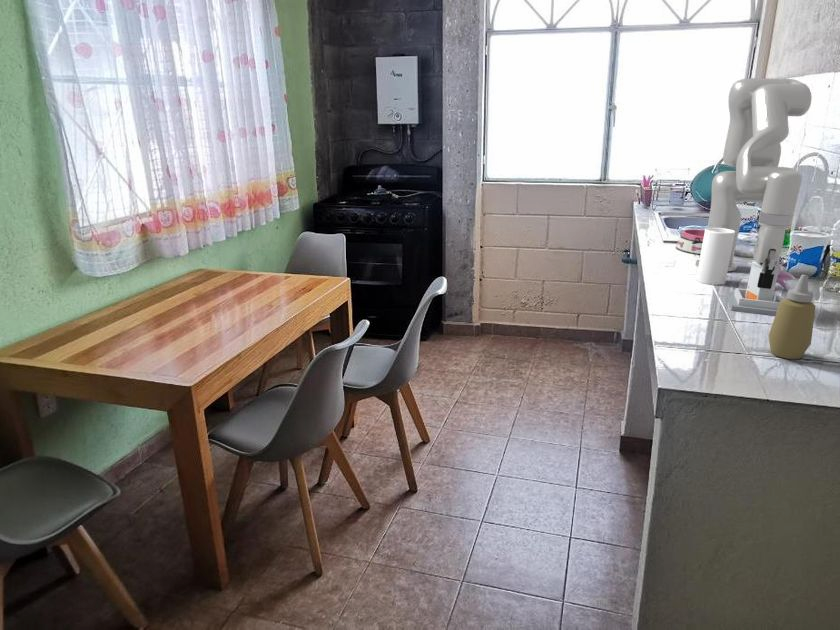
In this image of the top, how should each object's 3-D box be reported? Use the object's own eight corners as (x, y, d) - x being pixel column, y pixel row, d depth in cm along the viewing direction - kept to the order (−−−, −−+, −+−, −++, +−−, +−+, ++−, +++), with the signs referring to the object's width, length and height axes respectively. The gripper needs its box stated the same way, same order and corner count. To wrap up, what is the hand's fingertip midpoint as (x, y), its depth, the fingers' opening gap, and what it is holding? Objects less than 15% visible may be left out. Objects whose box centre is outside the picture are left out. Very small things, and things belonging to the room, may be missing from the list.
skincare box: (742, 302, 167) (751, 260, 163) (757, 302, 168) (767, 260, 164) (755, 309, 162) (764, 266, 158) (770, 310, 162) (780, 266, 158)
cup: (719, 278, 191) (729, 228, 186) (729, 285, 183) (739, 233, 178) (692, 277, 192) (701, 226, 186) (701, 284, 184) (710, 232, 179)
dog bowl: (731, 249, 231) (734, 232, 229) (726, 259, 216) (729, 240, 214) (680, 243, 240) (682, 226, 238) (671, 252, 225) (674, 233, 223)
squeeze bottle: (756, 347, 136) (774, 270, 130) (790, 347, 137) (809, 270, 131) (779, 362, 128) (799, 280, 122) (815, 362, 129) (837, 280, 123)
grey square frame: (725, 295, 173) (727, 285, 172) (781, 302, 169) (783, 291, 168) (731, 310, 161) (733, 299, 160) (790, 317, 156) (793, 306, 155)
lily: (792, 300, 174) (808, 270, 174) (754, 281, 175) (771, 252, 174) (771, 300, 186) (786, 272, 186) (736, 283, 187) (751, 255, 186)
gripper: (754, 212, 166) (741, 272, 172) (764, 224, 151) (749, 290, 157) (785, 215, 163) (771, 275, 169) (798, 227, 148) (782, 294, 154)
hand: (761, 282), depth 163 cm, fingers open, 9 cm apart
